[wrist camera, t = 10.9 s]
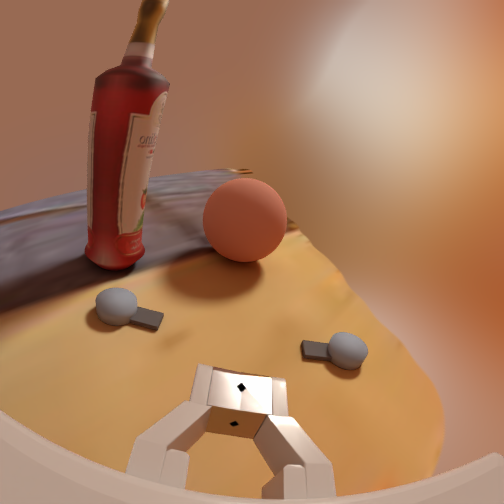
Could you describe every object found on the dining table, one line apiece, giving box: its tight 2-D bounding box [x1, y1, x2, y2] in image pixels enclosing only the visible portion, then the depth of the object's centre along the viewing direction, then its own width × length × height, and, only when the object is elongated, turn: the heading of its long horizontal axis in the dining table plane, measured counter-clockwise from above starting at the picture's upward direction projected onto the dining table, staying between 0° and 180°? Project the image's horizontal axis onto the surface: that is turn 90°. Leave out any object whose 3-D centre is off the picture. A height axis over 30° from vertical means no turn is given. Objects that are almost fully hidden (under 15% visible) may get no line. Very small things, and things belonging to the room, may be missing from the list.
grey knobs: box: [96, 288, 368, 370], centre depth 22 cm, size 24×4×1 cm, turn 89°
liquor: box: [85, 0, 170, 271], centre depth 23 cm, size 7×7×28 cm
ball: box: [203, 178, 287, 262], centre depth 34 cm, size 10×10×10 cm
